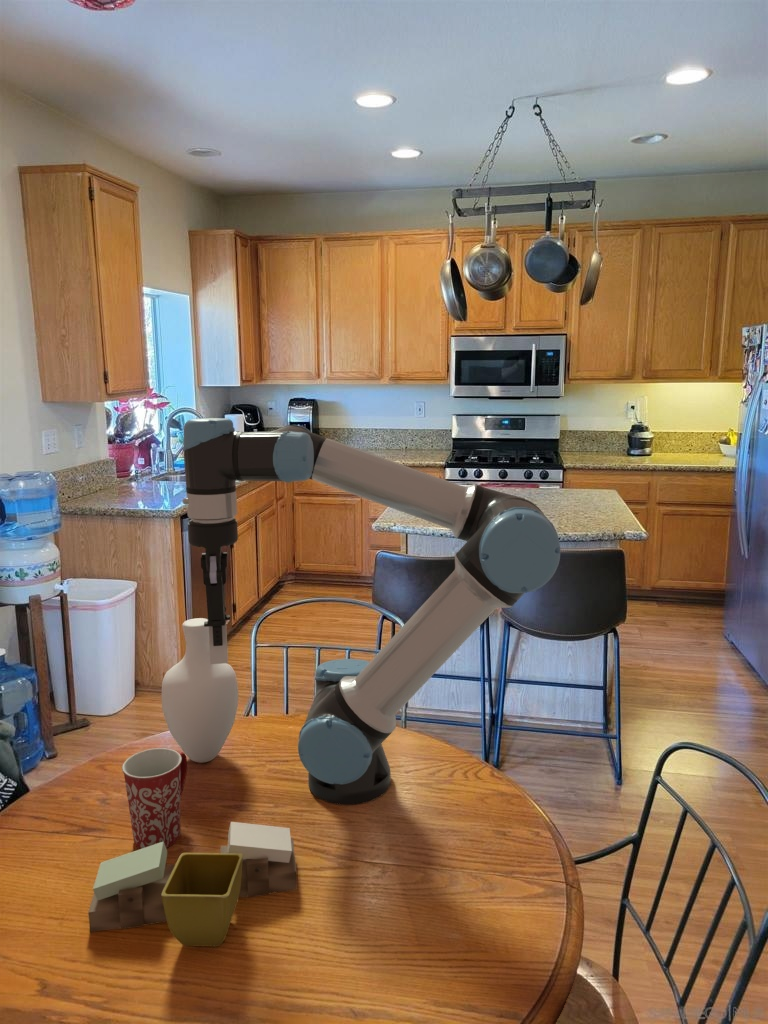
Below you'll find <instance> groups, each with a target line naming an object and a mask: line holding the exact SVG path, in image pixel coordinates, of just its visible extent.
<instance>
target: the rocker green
mask: <svg viewBox="0 0 768 1024" xmlns="http://www.w3.org/2000/svg"><path fill="white" fill-rule="evenodd" d="M167 857H168V849H167V848H166V847H165V844H164V842H160V843H157V844H154V845H151V846H148V847H145V848H142V849H139V848H138V849H137V850H134V851H131V852H128V853H124V854H122V855H119V856H116V857H113V858H110V859H107V860H104V861H101V862H100V864H99V867H98V871H97V874H96V878H95V880H94V883H93V887H92V891H93V894H94V893H95V896H96V898H97V901H98V900H101V899H104V898H107V897H110V896H113V895H116V894H119V890H123V889H131V888H136V887H139V886H142V885H145V884H148V883H151V882H154V881H157V880H159V879H162V878H163V876H164V870H165V865H167V864H166V863H167Z"/></svg>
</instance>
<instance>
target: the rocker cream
mask: <svg viewBox="0 0 768 1024" xmlns="http://www.w3.org/2000/svg"><path fill="white" fill-rule="evenodd" d="M290 829H291V828H290V827H283V826H272V825H267V824H266V825H264V824H256V823H245V822H238V821H237V822H236V821H230V824H229V829H228V833H227V835H228V836H227V845H228V853H239V854H242V855H243V858H245V859H262V858H268V861H276V862H286V863H289V861H290V857H291V852H292V848H291V838H292V837H291V830H290Z"/></svg>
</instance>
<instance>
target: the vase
mask: <svg viewBox="0 0 768 1024" xmlns="http://www.w3.org/2000/svg"><path fill="white" fill-rule="evenodd" d="M207 621H208V618H205V617H204V618H203V617H199V618H196V617H195V618H191V619H187V620H184V622H183V623H182V631H183V635H184V639H185V640H184V641H185V653H184V655H183V657H182V658H181V660H180V661H178V663H176V664H174V665H173V666H171V667H170V669H168V670H167V671H166V672H165V674H164V676H163V678H162V683H161V709H162V712H163V717H164V719H165V723H166V725H167V728H168V731H169V733H170V734H171V736H172V738H173V739H174V741H175V742H176V743H177V744H178V746H179V747H180V749H181V750H182V752H183V753H184V754H185V755H186V757H187V758H189V760H190V761H192V762H195V763H207V762H210V761H212V760H214V759H215V758H217V756H218V755H219V754H220V752H221V751H222V748H223V746H225V743H226V741H227V739H228V737H229V735H230V733H231V731H232V729H233V727H234V726H233V725H234V723H235V720H236V715H237V713H238V712H237V710H238V706H239V705H238V704H239V685H238V679H237V675H236V672H235V670H234V669H233V667H232V665H230V664H229V663H222V664H210V645H209V626H208V627H204V622H207Z"/></svg>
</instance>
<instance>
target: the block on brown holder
mask: <svg viewBox="0 0 768 1024" xmlns="http://www.w3.org/2000/svg"><path fill="white" fill-rule="evenodd" d="M291 848H292V852H291V857H290V861H289V863H286V862H276V861H268V858H262V859H245V858H243V862H242V876H241V887H240V893H239V897H238V899H239V898H245V897H248V898H252V897H260V896H268V895H270V894H275V893H284V892H285V893H286V892H291V891H292V892H293V891H298V881H297V878H298V875H297V864H296V855H295V854H296V853H295V844H294V838H293V837H291ZM219 853H228V844H227V845H221V846H220V852H219Z"/></svg>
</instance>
